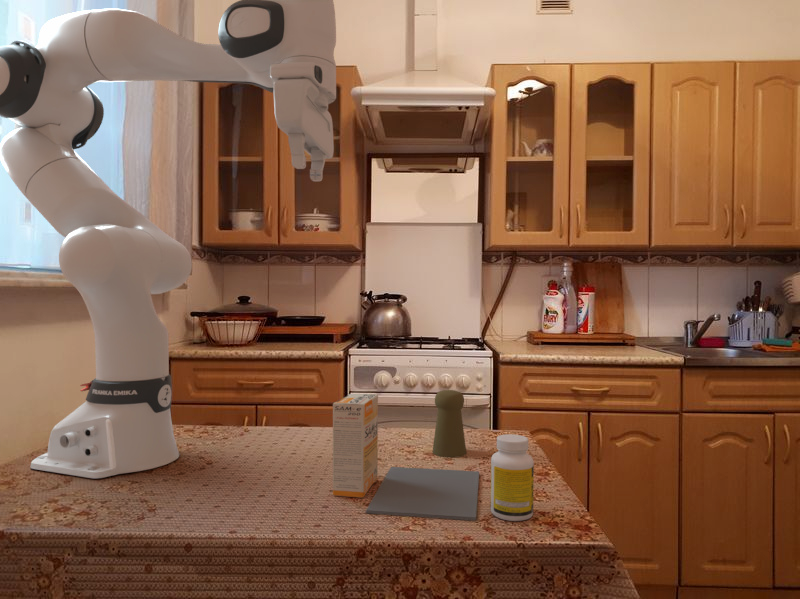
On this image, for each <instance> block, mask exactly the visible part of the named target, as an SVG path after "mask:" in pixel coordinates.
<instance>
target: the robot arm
mask: <svg viewBox="0 0 800 599" xmlns="http://www.w3.org/2000/svg"><path fill="white" fill-rule="evenodd" d="M336 24H337V22H336V12H335V4H334V0H238V1H236V2H234V3H232V4H230V5H229V6H228V7H227V8H226V10H224V12H223V14H222V16H221V18H220V20H219V24H218V34H217V35H218V40H219V44H216V43H215V44H214V43H213V44H211V43H209V44H208V43H202V42H197V41H194V40H190V39H189V38H186V37H185V36H182V35H180V34H177V33H176V32H174V31H172V30H171V29H169V28H167V27H166V26H164V25H162V24H160V23H159V22H157V21H156V20H154V19H152V18H151V17H149V16H147V15H145V14H143V13H140V12H138V11H133V10H128V9H121V8H102V9H101V8H100V9H91V10H90V9H87V10H82V11H80V10H79V11H76V12H72V13H71V12H70V13H67V14H64V15H61V16H57V17H55V18H52V19H50V20H48V21H46V23H44V25H43V26H42V27H41V29H40V32H39V35H38V36H39V38H38V43H37V44H36V46H34V45H33V44H32V43H29V42H27V41H25V40H14V41H12V42H11V43H10V44H8V45H0V117H1V118H4V119H9V120H11V121H13V122H14V128H13V129H14V130H11V131H10V132H8V134H7V135H5V136H4V137H3V138H2V140H1V141H0V161H1V164H2V166H3V167H4V169H5V171H6V173H7V174H8V175H9V177H10V179H11V180H12V181H13V183H14V184H15V186H16V187H17V188H18V190H19V191H20V193H22V195H23V196H24V197H25V198H26V199H27V201H28V202H30V203H31V205H32V206H33V207H34V208H35V209H36V210H37V211H38V212H39V213H40V215H42V217H43V218H44V219H45V220H46V221H47V222H48V223H49V225H50V226H52V227H53V229H54V230H55V231H56V232H57V233H58V234H59V235H61V236H62V237H64V239H63V241H62V243H61V245H60V248H59V252H58V263H59V268H60V270H61V273H62V274H63V277H64V278H65V279H66V280H67V281H68V282H69V283H70V284H71V285H73V287H74V288H75V289H76V290H77V291H78V292H79V294H80V295H81V297H82V300H83V302H84V304H85V306H86V309H87V312H88V314H89V317H90V322H91V324H92V329H93V335H94V348H95V349H94V350H95V353H94V356H95V378H94V379H92V380H91V381H90V382H87V383H81V384H80V387H83V388H81V389H80V392H86V391H88V392H87V395H86V397H85V402H83V403H82V404H81V405H79V406H78V407H77V408H76V409H74V410H73V411H72V412H71V413H69V414H68V415H67V416H65V417H64V418H63V419H61V420H60V421H59V422H58V423H56V424H55V425H54V427H52V430H51V431H50V435H49V438H48V445H47V452H45V453H43V454H40V455H39V456H37V457H36V458H34V459H33V460H32V461H30V462H31V463H30V469H32V470H39V471H45V472H50V473H57V474H63V475H69V476H74V477H75V476H76V477H82V478H87V479H103V478H107V477H108V478H109V477H111V476H116V475H122V474H129V473H135V472H141V471H147V470H152V469H156V468H158V467H162V466H165V465H167V464H170V463H172V462H174V461H176V460H177V459H178V458H179V457H180V452H179V449H178V445H177V442H176V439H175V435H174V434H175V433H174V428H173V423H172V422H173V421H172V416H171V414H172V413H171V406H172V399H173V398H172V397H173V390H172V389H173V387H172V385H173V384H172V375H171V374H170V371H169V370H170V364H169V360H170V358H169V357H170V356H169V353H170V351H169V348H170V347H169V345H170V344H169V343H170V342H169V330H168V327H167V326H166V325H165V323H164V322H163V321H162V320H161V319H160V318H159V316H158V313H157V310H156V309H155V308H156V307H155V305H154V301H153V297H152V295H161V294H164V293H167V292H170V291H174V290H176V289H178V288H180V287H181V286H183V285H184V284H185V282H187V281H188V279H189V277H190V276H191V272H192V268H193V263H192V258H191V257H192V256H191V254H190V251H189V250H188V249H187V248H186V246H185V245H184V244H183V243H181V242H180V241H178V240H177V239H175V238H173V237H172V236H170V235H168V234H167V233H166V232H164V231H163V230H162V229H161V228H159V227H158V226H157V225H156V224H155V223H154V222H152V221H151V220H150V219H149V218H147V217H146V216H144V215H143V214H142V213H141V212H140V211H139V210H137V209H136V208H135V207H133V206H132V205H130V204H129V203H128V202H126V201H125V199H122V198H121V197H120V196H119V195H118V194H117V193H116V192H114V191H113V190H112V189H111V187H109V186H108V184H106V182H104V180H103V179H102V178H101V177H100V176H99V175H98V174H97V173H96V172H95V171H94V170H93V169H92V168H91V167H90V166H89V165H88V163H87V162H86V161H85V160H84V159H83V158H82V157H81V156H80V155H79V154H78V153H77V152H76V151H75V150H77V149H80V148H82V147H84V146H86V144H87V142H88V141H89V140H90V139H92V138H93V137H94V136H95V135H96V133H97V132H98V131H99V129H100V127H101V125H102V124H103V120H104V114H105V113H104V112H105V111H104V110H105V109H104V106H103V102H102V101H101V99H100V97H99V96H98V95H97V94H96V93H95V91H93V89H91V88H90V87H89V86H90V85H93V84H96V83H98V82H101V83H114V82H118V83H120V82H141V81H142V82H146V81H148V82H149V81H151V82H152V81H163V82H165V81H166V82H168V81H169V82H173V81H174V82H178V81H179V82H194V83H195V82H196V83H215V84H219V83H220V84H243V85H245V84H246V85H253V86H256V87H259V88H260V89H262V90H265V91H267V92H270V93H273V106H274V107H273V108H274V109H273V110H274V117H275V118H274V119H275V122H276V124H277V125H276V126H277V127H278V129H279V130H280V131H282V132H283V133H284V134H286V136H287V137H288V141H287V142H288V146H289V149H290V150H289V151H290V154H291V166H292V167H293V168H295V169H297V170H305V169H306V167H307V157H306V155H305V152H306V153H307V154H308V155H309V156H310V160H311V161H310V162H311V164H310V169H309V178H310V180H311V181H312V182H321V181H322V180H323V171H324V167H325V164H326V160H331V159H333V157H334V149H335V147H334V146H335V145H334V125H333V124H334V123H333V118H332V115H331V112H329V105H330V104H332V103H334V102H335V101H336V99H337V65H336V61H335V56H334V55H335V54H334V53H335V48H336V44H337V25H336Z"/></svg>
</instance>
